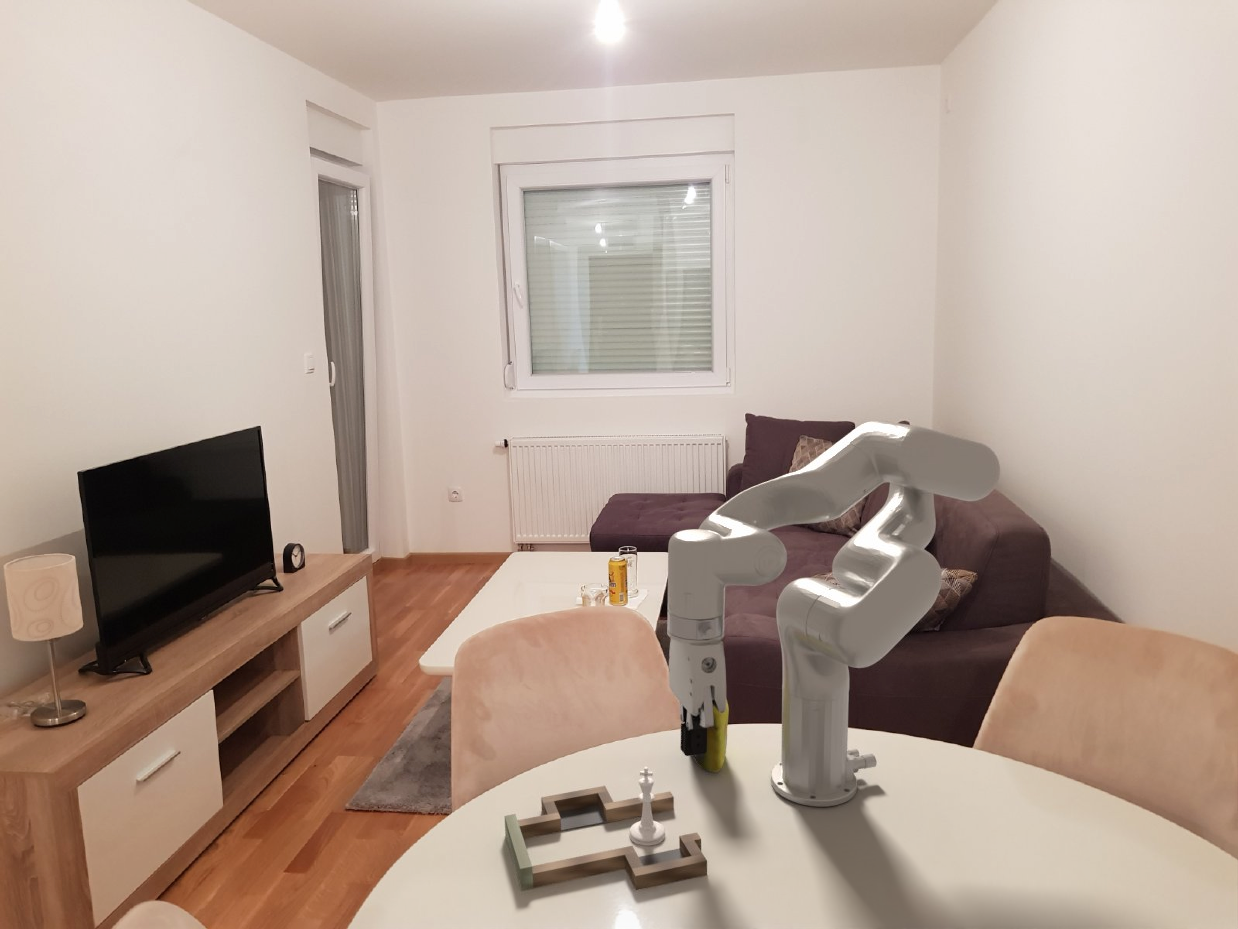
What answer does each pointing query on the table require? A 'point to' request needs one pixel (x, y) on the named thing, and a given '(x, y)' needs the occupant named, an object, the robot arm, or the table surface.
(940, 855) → the table surface
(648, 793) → the chess piece
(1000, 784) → the table surface
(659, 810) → the trap lane
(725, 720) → the bottle
